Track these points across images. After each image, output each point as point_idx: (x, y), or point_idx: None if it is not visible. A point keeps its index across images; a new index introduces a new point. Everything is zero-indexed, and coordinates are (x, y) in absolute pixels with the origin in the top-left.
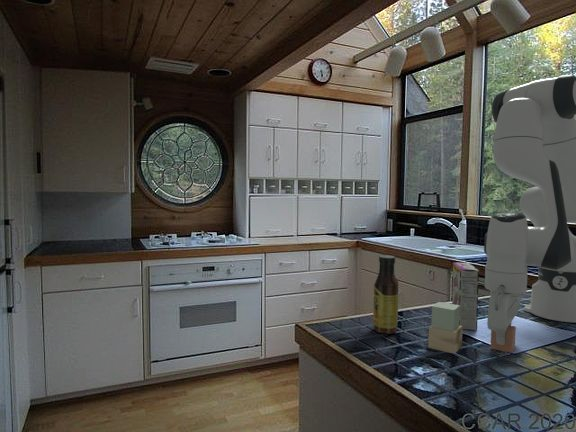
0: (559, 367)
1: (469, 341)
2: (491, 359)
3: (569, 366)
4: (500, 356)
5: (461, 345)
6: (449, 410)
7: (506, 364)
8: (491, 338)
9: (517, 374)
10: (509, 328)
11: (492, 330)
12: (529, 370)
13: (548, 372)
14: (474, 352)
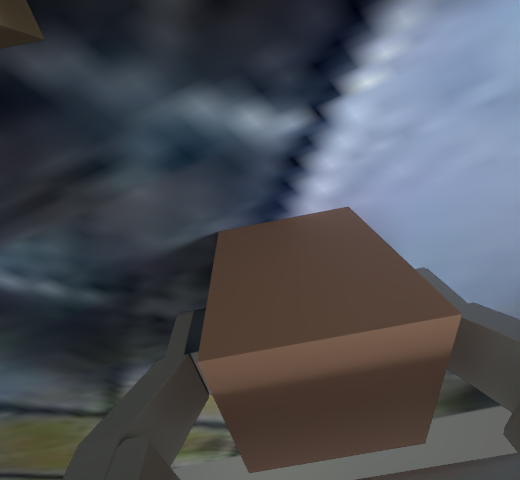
0: (229, 440)
1: (238, 36)
2: (45, 302)
3: None
4: (138, 312)
5: (24, 39)
6: None
7: (65, 359)
8: (212, 277)
9: (13, 408)
10: (320, 443)
11: (204, 342)
12: (102, 413)
13: None
14: (34, 193)
